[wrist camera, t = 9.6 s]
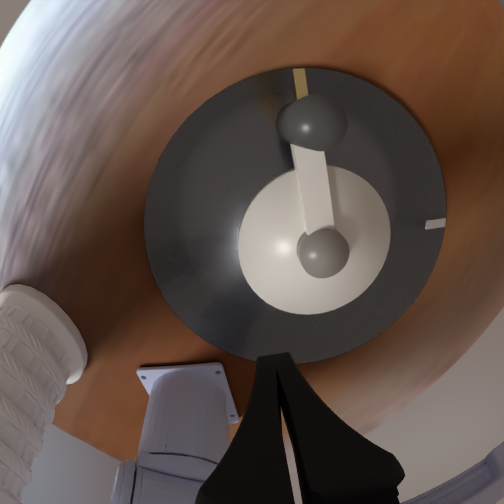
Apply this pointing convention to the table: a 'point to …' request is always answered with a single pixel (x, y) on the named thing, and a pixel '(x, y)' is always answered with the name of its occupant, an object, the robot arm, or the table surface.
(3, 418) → the decorative container
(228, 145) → the dial plate
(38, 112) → the table surface
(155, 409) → the robot arm
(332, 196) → the dial
